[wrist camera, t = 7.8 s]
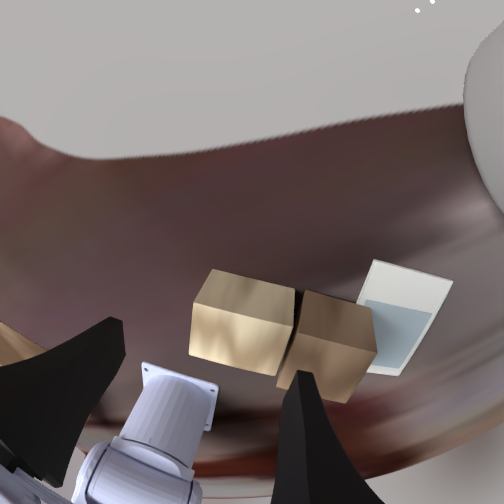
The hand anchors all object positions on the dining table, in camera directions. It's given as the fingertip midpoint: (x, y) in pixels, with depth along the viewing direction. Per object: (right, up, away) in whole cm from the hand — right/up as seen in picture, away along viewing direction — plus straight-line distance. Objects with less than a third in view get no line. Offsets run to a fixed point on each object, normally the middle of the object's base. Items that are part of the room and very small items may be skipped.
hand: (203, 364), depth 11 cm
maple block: (+4, -1, +9) cm, 10 cm away
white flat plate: (+13, -1, +10) cm, 16 cm away
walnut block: (+9, -3, +8) cm, 13 cm away
